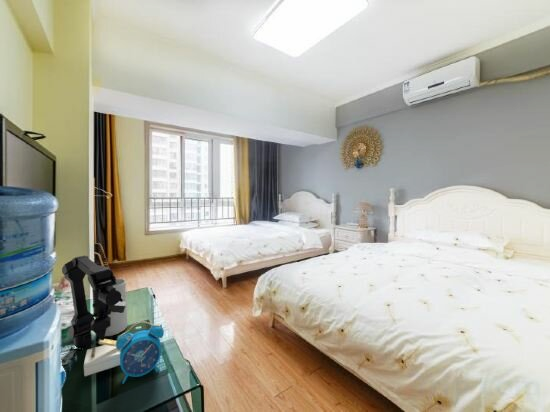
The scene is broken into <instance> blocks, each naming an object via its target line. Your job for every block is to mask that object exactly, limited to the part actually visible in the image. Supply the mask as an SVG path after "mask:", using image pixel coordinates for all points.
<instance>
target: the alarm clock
mask: <svg viewBox="0 0 550 412" xmlns="http://www.w3.org/2000/svg"><path fill="white" fill-rule="evenodd" d="M138 324H148V325H150V326H151V327H150V328H149V329H148V330H140V331H136V332H135V333H131V332H129V331H131V329H133V328H134V327H135V326H136V325H138ZM164 333H165V332H164V328H163V325H162V324H160V325H159V324H153V323H150V322H148V321H146V320H145V321H139V322H136V323H134V324H133V325H132V326H131V327H130V328H129V329H128V330H127V331H125V332H123V333H122V334H120V335H117V339H116V341H117V342H116V347H117V349H118V350H121V351H120V365H119V366H120V368H121V371H122V372H123V373H124V374H125V377H124V379H123V380H122V381H121V383H122V384H124V385H125V382H126V381H127V379H128V377H131V378H132V377H134V378H136V377H137V378H138V377H142V376H144V375H147V374H148V373H150V372H151V371H152V370H155V371H157V372H160V371H161V370H160V369H159V368H158V366H157V364H158V363H159V361H160V358H161V356H162V345H161V340H160V339H163V337H164Z"/></svg>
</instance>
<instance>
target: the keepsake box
mask: <svg viewBox="0 0 550 412" xmlns="http://www.w3.org/2000/svg"><path fill="white" fill-rule="evenodd" d="M120 351H121V350H118V349H117V347H115V346H109V345H103V344H102V345H100V346H96V347H93V348H89V349H86V353H85V358H84V363H83V374H84V377H88V376H90V375H93V374H97V373H99V372H102V371H105V370H109V369H112V368H115V367H118V366H120Z"/></svg>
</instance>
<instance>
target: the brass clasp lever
mask: <svg viewBox="0 0 550 412" xmlns="http://www.w3.org/2000/svg"><path fill="white" fill-rule="evenodd" d="M116 342H117V340H113V339H108V338H104V340H102V341H101V340H100V339H99V338H98V342H97V343H98V344H99V345H102V346H103V345H109V346H115V347H116Z"/></svg>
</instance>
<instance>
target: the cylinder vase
mask: <svg viewBox="0 0 550 412" xmlns="http://www.w3.org/2000/svg"><path fill="white" fill-rule="evenodd" d="M110 281H111V280H110ZM110 281H107V282H110ZM103 283H106V282H103ZM113 287H115V288H116V290H117V291H119V292H120V293H121V297H122V298H123V301H125V302H126V307H125V310H124V312H123V313H119V312H111V314H109V315H108V316H109V317H111V326H110V327H108V328H107V329H106V333H105V337H112V336H114V335H117V334H118V335H119V334H120V333H121V332H123V331H125V330H126V329H127V327H128V309H127V308H128V307H127V305H128V304H127V302H128V301H127V284H126V279H124V278H116V284H115V285H113Z"/></svg>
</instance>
